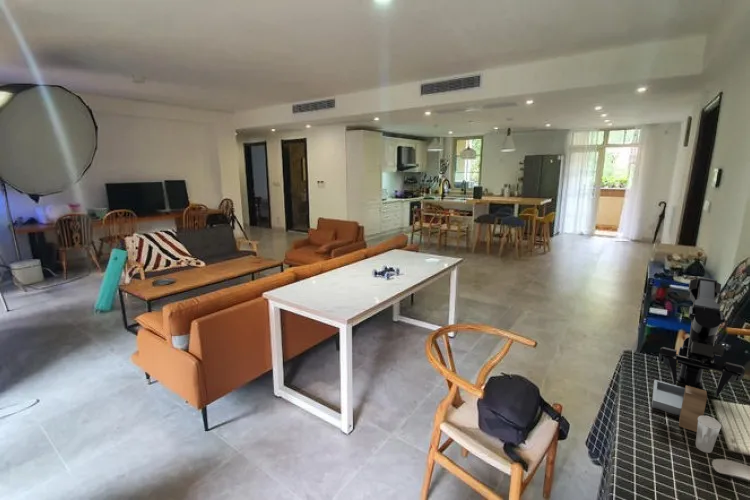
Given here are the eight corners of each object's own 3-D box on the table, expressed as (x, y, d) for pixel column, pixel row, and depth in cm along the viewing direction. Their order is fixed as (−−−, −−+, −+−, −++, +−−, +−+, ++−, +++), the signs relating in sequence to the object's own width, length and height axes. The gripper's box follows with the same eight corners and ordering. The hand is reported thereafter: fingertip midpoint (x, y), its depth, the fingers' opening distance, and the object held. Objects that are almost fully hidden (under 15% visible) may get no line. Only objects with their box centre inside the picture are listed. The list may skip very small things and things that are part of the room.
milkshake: (723, 456, 94) (731, 423, 92) (699, 453, 95) (706, 420, 93) (711, 443, 98) (718, 411, 96) (688, 441, 99) (695, 409, 97)
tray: (653, 386, 124) (654, 379, 123) (690, 396, 118) (691, 389, 118) (651, 407, 113) (653, 400, 113) (692, 419, 108) (693, 412, 107)
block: (679, 417, 108) (685, 385, 106) (699, 424, 106) (706, 390, 103) (678, 426, 105) (685, 392, 103) (699, 433, 102) (706, 398, 100)
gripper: (664, 322, 111) (656, 370, 106) (751, 340, 100) (747, 394, 94) (662, 337, 119) (654, 382, 113) (741, 355, 107) (737, 406, 101)
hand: (695, 390), depth 105 cm, fingers open, 9 cm apart
